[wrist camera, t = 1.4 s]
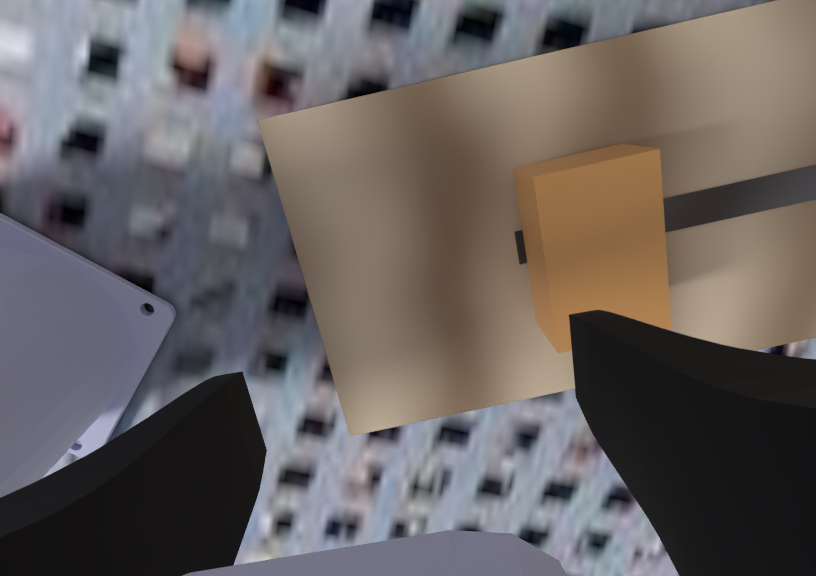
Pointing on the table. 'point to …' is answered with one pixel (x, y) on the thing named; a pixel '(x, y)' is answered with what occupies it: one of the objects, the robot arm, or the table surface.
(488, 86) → the fader panel
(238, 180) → the table surface
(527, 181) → the fader knob
